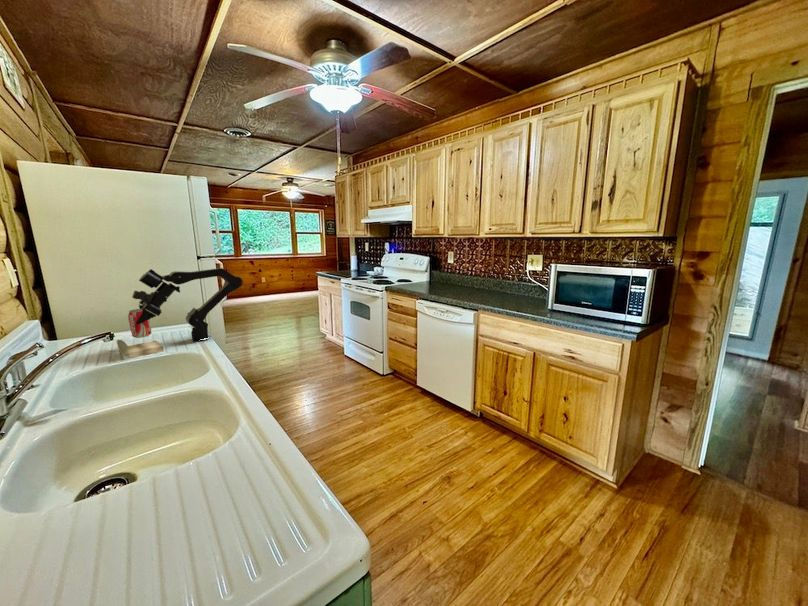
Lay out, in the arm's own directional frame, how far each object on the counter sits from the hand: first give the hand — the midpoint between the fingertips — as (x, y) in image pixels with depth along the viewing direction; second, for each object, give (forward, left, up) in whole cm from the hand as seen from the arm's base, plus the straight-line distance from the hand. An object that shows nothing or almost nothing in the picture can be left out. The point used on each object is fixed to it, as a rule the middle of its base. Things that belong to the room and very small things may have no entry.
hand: (135, 322), depth 144 cm
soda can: (-1, -1, -7) cm, 7 cm away
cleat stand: (-1, +2, -13) cm, 13 cm away
